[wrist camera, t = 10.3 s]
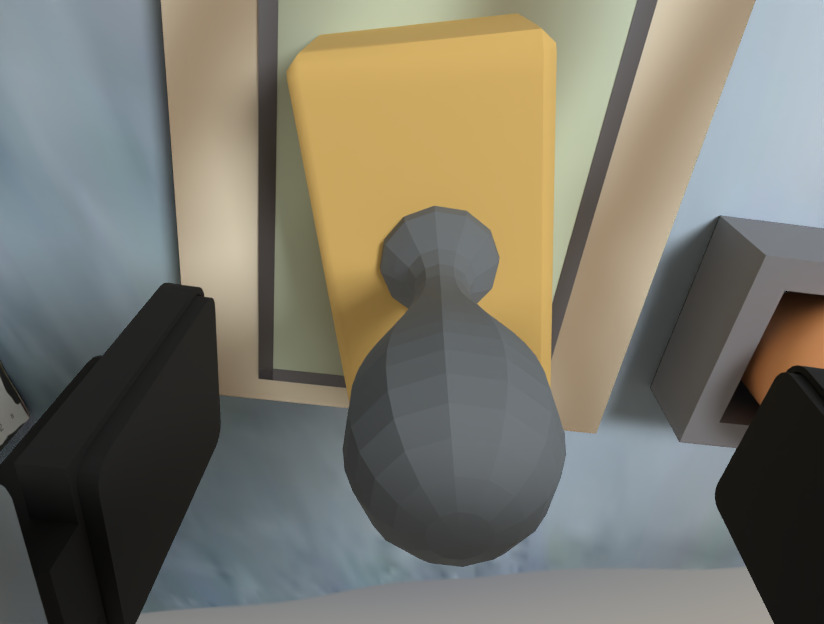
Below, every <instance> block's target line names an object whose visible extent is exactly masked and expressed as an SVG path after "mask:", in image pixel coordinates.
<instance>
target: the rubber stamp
mask: <svg viewBox="0 0 824 624" xmlns="http://www.w3.org/2000/svg"><path fill="white" fill-rule="evenodd" d="M556 66H557V48H556V42H555V41H554V40H553V39H552V38H551V37H550V36H549V35H548V34H547V33H546V32H545V31H544V30H543V29H542V28H541V27H539V26H538V25H536V24H535V23H533V22H531V21H530V20H528V19H526V18H525V17H523V16H521V15H520V14H518V13H515V14H506V15H497V16H488V17H479V18H470V19H460V20H451V21H442V22H433V23H424V24H415V25H405V26H396V27H387V28H378V29H369V30H360V31H350V32H341V33H332V34H323V35H319V36H318V37H317V38H315V39H314V40H313V41H312V42H311V43H310V44H308V45H307V46H306V47H305V48H304V49H302V50H301V51H300V52H299V53H298V54H297V56H296V57H295V59H294V60H293V62H292V64H291V65H290V67H289V68H288V70H287V71H286V73H287V82H288V87H289V92H290V98H291V103H292V108H293V113H294V118H295V124H296V129H297V134H298V139H299V144H300V150H301V155H302V160H303V165H304V170H305V175H306V181H307V186H308V191H309V196H310V201H311V207H312V212H313V217H314V222H315V227H316V233H317V238H318V243H319V248H320V253H321V259H322V264H323V269H324V274H325V279H326V285H327V290H328V295H329V300H330V305H331V310H332V316H333V321H334V326H335V331H336V336H337V342H338V347H339V352H340V357H341V362H342V368H343V373H344V378H345V383H346V388H347V394H348V399H349V409H348V416H347V424H346V431H345V438H344V445H343V456H344V468H345V472H346V475H347V477H348V480H349V483H350V485H351V488H352V491H353V493H354V494H355V496H356V498H357V499H358V501H359V503H360V504H361V506H362V508H363V509H364V511H365V513H366V514H367V516H368V518H369V519H370V521H371V523H372V524H373V526H374V527H375V528H376V529H377V531H378V532H379V533H380V534H381V535H382V536H383V537H384V539H385V540H386V541H388V542H390V543H392V544H394V545H395V546H397V547H399V548H401V549H403V550H405V551H406V552H408V553H410V554H412V555H414V556H416V557H417V558H419V559H422V560H424V561H427V562H429V563H434V564H443V565H452V566H461V567H463V566H468V565H472V564H476V563H480V562H484V561H489V560H493V559H495V558H497V557H499V556H501V555H503V554H505V553H506V552H507V551H509V550H510V549H511V548H513V547H514V546H515V545H517V544H518V543H519V542H521V541H522V540H524V539H525V538H526V537H528V536H529V535H530V534H532V533H533V532H534V531H535V530H536V529H537V527H538V526H539V524H540V523H541V521H542V520H543V518H544V517H545V515H546V513H547V511H548V508H549V506H550V503H551V501H552V498H553V496H554V493H555V491H556V488H557V486H558V483H559V481H560V478H561V474H562V470H563V465H564V461H565V456H566V448H565V433H564V430H563V427H562V423H561V420H560V417H559V413H558V410H557V407H556V404H555V401H554V398H553V395H552V392H551V389H550V387H551V334H552V281H553V227H554V174H555V120H556Z"/></svg>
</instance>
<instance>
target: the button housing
mask: <svg viewBox="0 0 824 624" xmlns="http://www.w3.org/2000/svg"><path fill="white" fill-rule="evenodd" d="M784 291H792V292H801V293H809V294H818V295H824V229H822V228H814V227H806V226H799V225H791V224H783V223H775V222H767V221H759V220H751V219H743V218H735V217H727V216H720V217H719V220H718V222H717V225H716V227H715V230H714V232H713V235H712V237H711V240H710V242H709V245H708V247H707V249H706V252H705V254H704V257H703V259H702V262H701V264H700V267H699V269H698V272H697V274H696V276H695V279H694V281H693V284H692V286H691V289H690V291H689V294H688V296H687V299H686V301H685V303H684V306H683V308H682V311H681V313H680V316H679V318H678V321H677V323H676V326H675V328H674V330H673V333H672V335H671V338H670V340H669V343H668V345H667V348H666V350H665V353H664V355H663V357H662V360H661V362H660V365H659V367H658V370H657V372H656V375H655V377H654V380H653V382H652V385H651V387H650V388H651V390H652V392H653V394H654V396H655V397H656V399H657V401H658V403H659V405H660V407H661V409H662V410H663V412H664V414H665V416H666V418H667V420H668V422H669V423H670V425H671V427H672V429H673V431H674V433H675V435H676V436H677V438H678V440H679V442H683V443H693V444H703V445H712V446H722V447H732V448H737V447H738V445H739V443H740V442H741V440H742V438H743V436H744V434H745V432H746V431H747V429H748V427H749V425H750V423H751V421H752V420H753V418H754V416H755V414H756V412H757V410H758V408H759V407H760V405H759V403H758V402H757V401H756V399H755V398H754V397H753V395H752V394H751V393H750V391H749V390H748V389H747V388H746V386H745V385H744V384H743V382H742V381H741V378H742V376H743V374H744V372H745V370H746V368H747V366H748V364H749V362H750V360H751V358H752V356H753V354H754V352H755V350H756V348H757V346H758V344H759V342H760V339H761V337H762V335H763V333H764V331H765V329H766V327H767V325H768V323H769V321H770V319H771V317H772V315H773V313H774V311H775V309H776V307H777V305H778V303H779V301H780V299H781V297H782V295H783V293H784Z"/></svg>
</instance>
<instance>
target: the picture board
mask: <svg viewBox="0 0 824 624" xmlns="http://www.w3.org/2000/svg"><path fill="white" fill-rule="evenodd" d="M755 1H756V0H161V11H162V24H163V38H164V52H165V66H166V80H167V93H168V107H169V121H170V135H171V149H172V162H173V176H174V190H175V204H176V217H177V231H178V245H179V259H180V273H181V285H187V286H195V287H201V288H202V289H203V292H204V297H211V298H213V299H214V302H215V312H216V334H217V356H218V378H219V395H225V396H235V397H245V398H255V399H264V400H274V401H284V402H294V403H303V404H313V405H323V406H333V407H342V408H349V399H348V394H347V388H346V383H345V378H344V373H343V368H342V362H341V357H340V352H339V347H338V342H337V336H336V331H335V326H334V321H333V316H332V310H331V305H330V300H329V295H328V290H327V285H326V279H325V274H324V269H323V264H322V259H321V253H320V248H319V243H318V238H317V233H316V227H315V222H314V217H313V212H312V207H311V201H310V196H309V191H308V186H307V181H306V175H305V170H304V165H303V160H302V155H301V150H300V144H299V139H298V134H297V129H296V124H295V118H294V113H293V108H292V103H291V98H290V92H289V87H288V82H287V73H286V71H287V70H288V68H289V67H290V65H291V64H292V62H293V60H294V59H295V57H296V56H297V54H298V53H299V52H300V51H301V50H302V49H304V48H305V47H306V46H307V45H308V44H310V43H311V42H312V41H313V40H314V39H315V38H317V37H318V36H319V35H323V34H332V33H341V32H350V31H360V30H369V29H378V28H387V27H396V26H405V25H415V24H424V23H433V22H442V21H451V20H460V19H470V18H479V17H488V16H497V15H506V14H515V13H518V14H520V15H521V16H523V17H525V18H526V19H528V20H530V21H531V22H533V23H535V24H536V25H538V26H539V27H541V28H542V29H543V30H544V31H545V32H546V33H547V34H548V35H549V36H550V37H551V38H552V39H553V40H554V41H555V42H556V48H557V66H556V120H555V174H554V227H553V281H552V334H551V387H550V389H551V392H552V395H553V398H554V401H555V404H556V407H557V410H558V413H559V417H560V420H561V423H562V427H563V430H566V431H576V432H586V433H596V432H597V430H598V427H599V424H600V421H601V419H602V416H603V413H604V411H605V408H606V405H607V402H608V400H609V397H610V394H611V392H612V389H613V386H614V383H615V381H616V378H617V375H618V373H619V370H620V367H621V364H622V362H623V359H624V356H625V354H626V351H627V348H628V345H629V343H630V340H631V337H632V335H633V332H634V329H635V326H636V324H637V321H638V318H639V316H640V313H641V310H642V307H643V305H644V302H645V299H646V297H647V294H648V291H649V288H650V286H651V283H652V280H653V278H654V275H655V272H656V269H657V267H658V264H659V261H660V259H661V256H662V253H663V250H664V248H665V245H666V242H667V240H668V237H669V234H670V231H671V229H672V226H673V223H674V221H675V218H676V215H677V212H678V210H679V207H680V204H681V202H682V199H683V196H684V193H685V191H686V188H687V185H688V183H689V180H690V177H691V174H692V172H693V169H694V166H695V163H696V161H697V158H698V155H699V153H700V150H701V147H702V144H703V142H704V139H705V136H706V134H707V131H708V128H709V125H710V123H711V120H712V117H713V115H714V112H715V109H716V106H717V104H718V101H719V98H720V96H721V93H722V90H723V87H724V85H725V82H726V79H727V77H728V74H729V71H730V68H731V66H732V63H733V60H734V58H735V55H736V52H737V49H738V47H739V44H740V41H741V39H742V36H743V33H744V30H745V28H746V25H747V22H748V20H749V17H750V14H751V11H752V9H753V6H754V3H755Z"/></svg>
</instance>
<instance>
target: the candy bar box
mask: <svg viewBox="0 0 824 624" xmlns="http://www.w3.org/2000/svg"><path fill="white" fill-rule="evenodd" d="M29 418H30V414H29V412H28V410H27V408H26V406H25V404H24V402H23V401H22V399H21V397H20V396H19V394H18V392H17V390H16V388H15V387H14V385H13V384H12V382H11V381H10V379H9V377H8V375H7V373H6V371H5V370H4V368H3V366H2V363H1V361H0V451H1V450H2V449H3V448H4V446H5V445H6V444H7V443H8V442H9V440H10V439H11V438H12V437H13V436H14V435H15V434H16V432H17V431H18V430H19V429H20V428H21V426H22V425H23V424H24V423H26V422H27V421H28V420H29Z"/></svg>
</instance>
